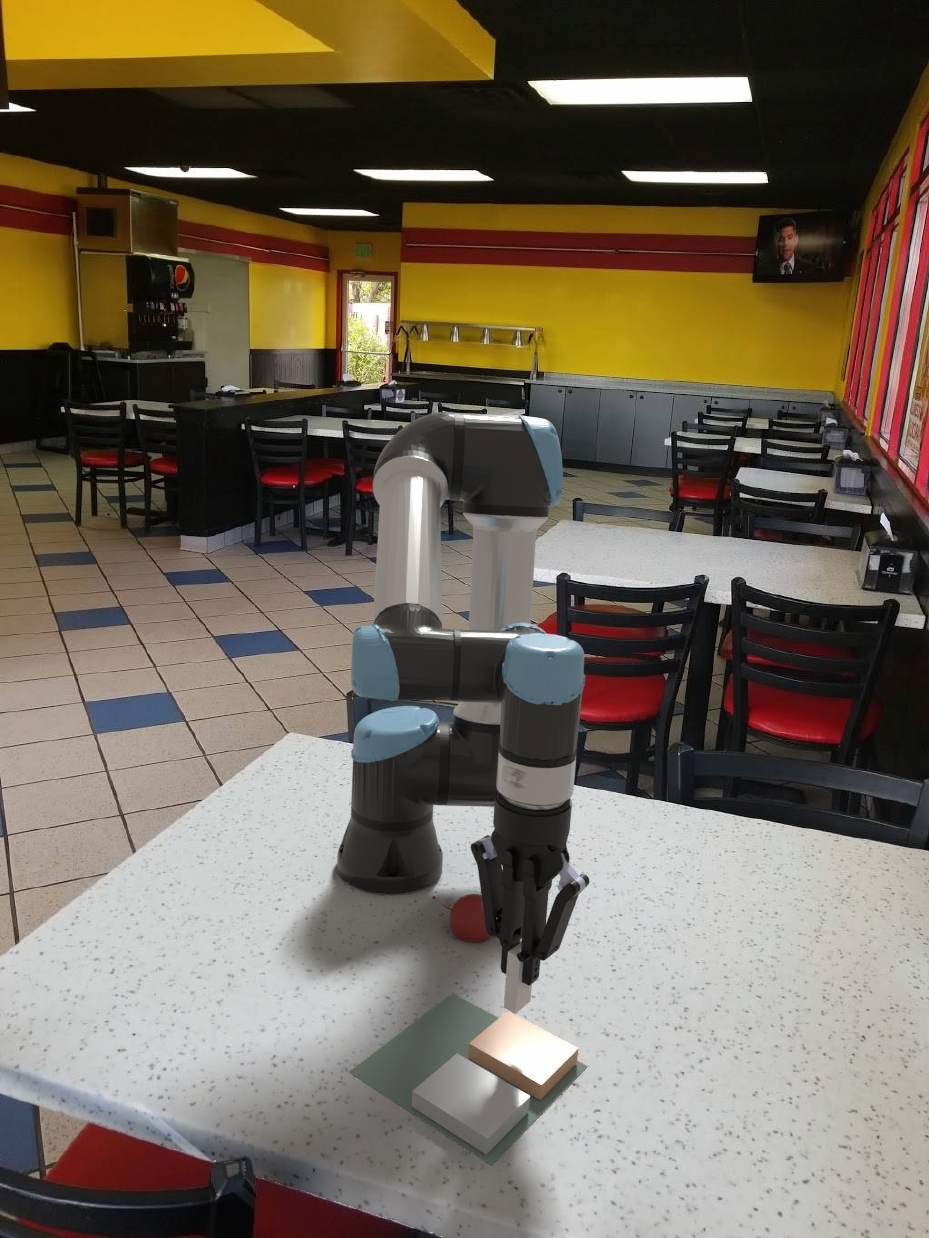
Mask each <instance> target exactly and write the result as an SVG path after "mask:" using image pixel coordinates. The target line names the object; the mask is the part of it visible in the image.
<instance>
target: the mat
mask: <svg viewBox="0 0 929 1238" xmlns="http://www.w3.org/2000/svg"><path fill="white" fill-rule="evenodd" d="M499 1018H500V1017H498V1016H496V1015H494V1014H493V1013H491V1012H489V1011H487V1010H485V1009H483V1008H481V1007H479V1006H478V1005H476V1004H474V1003H472V1002H471V1001H468V1000H466V999H465V998H463V997H462V996H459V995H457V994H455V993H451V994H449V995H448V996H447V997H446V998H444V999H442V1000H441V1001H440V1002H439V1003H438V1004H436V1005H435V1006H434V1007H432V1008H431V1009H429V1010H428V1011H427V1012H425V1013H424V1014H423V1015H422V1016H420V1017H419V1018H418V1019H416V1020H415V1021H414V1022H413V1023H411V1024H410V1025H408V1026H407V1027H406V1028H404V1029H403V1030H402V1031H401V1032H399V1033H398V1034H397V1035H395V1036H394V1037H393V1038H391V1039H390V1040H389V1041H388V1042H386V1043H384V1045H382V1046H380V1047H379V1048H378V1049H376V1051H374V1052H372V1054H370V1055H369V1056H367V1057H366V1058H365V1059H363V1060H362V1061H361V1062H360V1063H358V1064H357V1065H355V1066H354V1067H353V1068H352V1069H351V1070H348V1073H349V1074H351V1075H352V1076H353V1077H356V1078H357V1079H359V1081H361V1082H363V1083H365V1084H366V1085H367V1086H369V1087H371V1088H373V1089H374V1090H375V1091H377V1092H378V1093H380V1094H381V1095H383V1096H384V1097H386V1098H387V1099H389V1100H391V1101H392V1102H394V1103H395V1104H397V1105H398V1106H399V1107H401V1108H403V1109H404V1110H406V1111H408V1113H411V1114H412V1115H414V1116H415V1117H416V1118H418V1119H420V1120H421V1121H422V1122H424V1123H426V1124H427V1125H429V1126H430V1127H432V1128H433V1129H435V1130H436V1131H437V1132H439V1133H441V1134H443V1135H444V1136H446V1137H447V1138H449V1139H450V1140H452V1141H453V1142H454V1143H457V1144H458V1145H459V1146H461V1147H462V1148H464V1149H466V1151H468V1152H469V1153H471V1154H472V1155H474V1156H476V1157H477V1158H479V1159H481V1160H482V1161H484V1162H485V1163H487V1164H488V1165H490V1166H491V1167H493V1165H494V1164H495V1163H497V1161H498V1160H499V1159H500V1158H501V1157H502V1156H503V1155H504V1154H505V1153H506V1152H508V1150H509V1149H510V1148H511V1147H512V1146H513V1145H514V1144H515V1142H516V1141H518V1140H519V1138H520V1137H522V1135H523V1134H524V1133H526V1131H527V1130H528V1129H529V1128H530V1127H531V1126H532V1125H533V1124H534V1123H535V1122H536V1121H537V1120H538V1119H539V1118H540V1117H541V1116H542V1115H543V1113H544V1112H546V1110H547V1109H549V1108H550V1106H551V1105H552V1104H553V1103H554V1102H555V1101H556V1100H557V1099H558V1098H559V1097H560V1096H561V1095H562V1094H563V1093H564V1092H565V1091H566V1090H567V1089H568V1088H569V1087H570V1085H571V1084H572V1083H573V1082H574V1081H576V1080H577V1078H578V1077H579V1076H580V1075H581V1074H582V1073H583V1072H584V1071H585V1070H586V1069H587V1068H589V1067H588V1065H587V1064H584V1063H583V1062H581V1061H579V1060H577V1063H576V1064H575V1066H574V1067H573V1068H572V1069H571V1070H570V1071H569V1072H568V1073H567V1074H566V1075H565V1076H564V1077H563V1078H562V1079H561V1080H560V1081H559V1082H558V1083H557V1084H556V1085H555V1086H554V1087H553V1088H552V1089H551V1090H550V1091H549V1092H548V1093H547V1094H546V1095H545V1096H544V1097H543V1098H542V1099H541V1100H539V1099H537V1098H536V1097H534V1096H532V1095H530V1094H529V1093H527V1092H525V1091H524V1090H522V1089H520V1088H518V1087H517V1086H515V1085H513V1084H512V1083H510V1082H508V1081H506V1080H505V1079H503V1078H501V1077H500V1076H498V1075H496V1074H495V1073H493V1072H491V1071H489V1070H488V1069H486V1068H484V1067H483V1066H481V1065H479V1064H477V1063H476V1062H474V1061H472V1060H471V1059H469V1058H468V1051H469V1043H470V1042H471V1041H472V1040H474V1039H475V1038H476V1037H477V1036H478V1035H479V1034H481V1033H482V1032H483V1031H484V1030H485V1029H487V1028H488V1027H489V1026H490V1025H491V1024H493V1023H494V1022H495V1021H496V1020H497V1019H499ZM457 1053H458V1054H459V1055H461V1056H463V1057H464V1058H466V1059H468V1060H470V1061H471V1062H473V1063H475V1064H476V1065H478V1066H480V1067H481V1068H483V1069H485V1070H487V1071H488V1072H490V1073H492V1074H493V1075H495V1076H497V1077H498V1078H500V1079H502V1080H504V1081H505V1082H507V1083H509V1084H510V1085H512V1086H514V1087H516V1088H517V1089H519V1090H521V1091H522V1092H524V1093H526V1094H527V1095H529V1096H530V1105H529V1112H528V1113H527V1114H526V1115H525V1116H524V1117H523V1118H522V1119H521V1120H520V1121H519V1122H518V1123H517V1124H516V1125H515V1126H514V1127H513V1128H512V1129H511V1130H510V1131H509V1132H508V1133H507V1134H506V1135H505V1136H504V1137H503V1138H502V1139H501V1140H500V1141H499V1142H498V1143H497V1144H496V1146H495V1147H494V1148H493V1149H492V1150H491V1151H490V1152H489V1153H488V1154H487V1155H486V1154H484V1153H482V1152H481V1151H479V1150H478V1149H476V1148H475V1147H473V1146H472V1145H470V1144H469V1143H467V1142H466V1141H464V1140H462V1139H461V1138H459V1137H458V1136H456V1135H455V1134H453V1133H452V1132H450V1131H449V1130H447V1129H446V1128H444V1127H442V1126H441V1125H439V1124H438V1123H436V1122H435V1121H433V1120H432V1119H430V1118H429V1117H427V1116H426V1115H424V1114H423V1113H421V1112H419V1111H418V1110H416V1109H415V1108H413V1107H412V1091H413V1090H414V1089H415V1088H416V1087H418V1086H419V1085H420V1084H421V1083H422V1082H424V1081H425V1080H426V1079H427V1078H428V1077H430V1076H431V1075H432V1074H433V1073H434V1072H435V1071H437V1070H438V1069H439V1068H440V1067H441V1066H443V1065H444V1064H445V1063H446V1062H447V1061H449V1060H450V1059H451V1058H452V1057H453V1056H455V1055H456V1054H457Z"/></svg>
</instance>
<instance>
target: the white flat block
mask: <svg viewBox="0 0 929 1238" xmlns="http://www.w3.org/2000/svg"><path fill="white" fill-rule="evenodd" d="M529 1105H530V1096H529V1095H527V1094H526V1093H524V1092H522V1091H521V1090H519V1089H517V1088H516V1087H514V1086H512V1085H510V1084H509V1083H507V1082H505V1081H504V1080H502V1079H500V1078H498V1077H497V1076H495V1075H493V1074H492V1073H490V1072H488V1071H487V1070H485V1069H483V1068H481V1067H480V1066H478V1065H476V1064H475V1063H473V1062H471V1061H470V1060H468V1059H466V1058H464V1057H463V1056H461V1055H459V1054H458V1053H457V1054H456V1055H455V1056H453V1057H452V1058H451V1059H450V1060H449V1061H447V1062H446V1063H445V1064H444V1065H443V1066H441V1067H440V1068H439V1069H438V1070H437V1071H435V1072H434V1073H433V1074H432V1075H431V1076H430V1077H428V1078H427V1079H426V1080H425V1081H424V1082H422V1083H421V1084H420V1085H419V1086H418V1087H416V1088H415V1089H414V1090H413V1091H412V1107H413V1108H415V1109H416V1110H418V1111H419V1112H421V1113H423V1114H424V1115H426V1116H427V1117H429V1118H430V1119H432V1120H433V1121H435V1122H436V1123H438V1124H439V1125H441V1126H442V1127H444V1128H446V1129H447V1130H449V1131H450V1132H452V1133H453V1134H455V1135H456V1136H458V1137H459V1138H461V1139H462V1140H464V1141H466V1142H467V1143H469V1144H470V1145H472V1146H473V1147H475V1148H476V1149H478V1150H479V1151H481V1152H482V1153H484V1154H486V1155H487V1154H488V1153H489V1152H490V1151H491V1150H492V1149H493V1148H494V1147H495V1146H496V1144H497V1143H498V1142H499V1141H500V1140H501V1139H502V1138H503V1137H504V1136H505V1135H506V1134H507V1133H508V1132H509V1131H510V1130H511V1129H512V1128H513V1127H514V1126H515V1125H516V1124H517V1123H518V1122H519V1121H520V1120H521V1119H522V1118H523V1117H524V1116H525V1115H526V1114H527V1113H528V1112H529Z"/></svg>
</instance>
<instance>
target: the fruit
mask: <svg viewBox="0 0 929 1238" xmlns="http://www.w3.org/2000/svg"><path fill="white" fill-rule="evenodd" d="M431 898H432V900H435V899H437V900H438V901H439V902H440V903H441V905H443V906H444V908H446V909H448V910H449V911H450V914H449V925H450V928H451V931H452V933H453V934H454V936H455V937H457V939H459V940H461V941H463V942H467V943H474V944H475V943H483V942H486V941H487V940H489V939H491V937H492V936H490V935H489V934H488V933H487V931H486V925H485V918H484V910H483V903H482V895H481V894H478V893H477V894H476V893H469V894H466V895H464V896H461V897H459V898H458V899H457V901H455V903H454V904H453V905H452V908H451V907H449V906H447V905H446V904H444V903H443V902H442V901H441V900H440V899H438V898H436V896H435V895H433V896H431Z"/></svg>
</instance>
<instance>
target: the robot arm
mask: <svg viewBox="0 0 929 1238" xmlns="http://www.w3.org/2000/svg"><path fill="white" fill-rule="evenodd" d="M562 458H563V457H562V449H561V444H560V439H559V435H558V432H557V430H556V427H555V426H554V424H553V423H552V422H551V421H549V420H548V419H545V418H541V417H535V416H534V417H533V416H526V415H521V414H518V415H514V414H513V415H508V414H490V413H489V414H488V413H487V414H486V413H484V414H483V413H461V412H452V411H442V412H441V411H440V412H434V413H429V414H427V415H424V416H421V417H418V418H417V419H415V420H413V421H412V422H409V423H408V424H406V425H405V426H404V427H403V428H401V429H400V430H399V431H398V432H396V433H395V434H394V435H393V437H391V438H390V440H389V441H388V442H387V443H386V445H385V446H384V447H383V449H382V451H381V453H380V454H379V455H378V459H377V461H376V463H375V467H374V471H373V479H372V490H373V491H372V492H373V496H374V499H375V501H376V502H377V504H378V505H379V511H378V531H377V545H376V546H377V549H376V562H375V563H376V564H375V565H376V567H375V581H374V583H375V584H374V597H373V599H374V600H373V602H374V603H373V613H372V615H373V616H372V624H370V625H361V626H358V627H357V628H356V629H355V630H354V632H353V637H352V647H351V669H350V670H351V671H350V672H351V675H350V676H351V677H350V679H351V681H350V682H351V684H350V685H351V689H352V691H353V692H354V694H356V696H359V697H360V698H361V697H362V698H366V699H367V698H369V699H375V700H376V699H378V700H387V701H392V702H395V701H440V702H441V701H442V702H443V701H447V702H448V701H449V702H459V704H457V705H456V706H455V707H454V708H453V714H452V715H453V716H452V721H440V719H439V717H438V714H436V712H435V711H434V710H432V709H430V708H427V707H423V708H421V706H417V705H416V706H415V705H403V706H402V705H401V706H400V705H399V706H393V707H387V708H382V709H380V710H379V709H378V710H377V711H374V712H373V713H370V714H368V715H366V716H365V717H362V719H361V720H360V721H359V722H358V723H357V725H356V726H355V728H354V733H353V742H352V743H353V744H352V748H351V752H350V756H351V759H352V776H351V802H350V804H351V805H350V806H351V808H350V818H349V821H348V824H347V826H346V828H345V832H344V834H343V837H342V840H341V843H340V845H339V847H338V849H337V850H338V851H337V857H336V858H337V859H336V860H337V863H336V864H337V865H336V870H337V873H338V876H340V878H341V879H342V880H343V881H344V882H345V883H346V884H347V885H350V886H352V887H354V888H355V889H358V890H361V891H364V892H368V893H373V894H377V895H379V894H380V895H403V894H404V895H405V894H411V893H414V892H418V891H422V890H424V889H426V888H428V887H430V886H432V885H433V884H434V883H435V882H437V881H438V880H439V878H440V877H441V875H442V873H443V859H444V855H443V849H442V847H441V845H440V843H439V840H438V836H437V831H436V827H435V824H434V819H433V817H434V806H444V807H446V806H447V807H448V806H449V807H486V808H488V807H489V808H493V819H492V822H493V828H494V829H493V831H492V833H491V834H490V835H489V834H487V835H485V836H483V837H481V838H479V839H478V840H476V841H475V842H473V843H471V844H470V850H471V854H472V855H473V858H474V860H475V863H476V866H477V871H478V873H477V874H478V879H479V887H480V895H482V903H483V910H484V918H485V925H486V931H487V933H488V934H489V935H490V936H491V937H496V938H497V939H498V940H499V944H500V946H501V956H500V957H501V959H500V970H501V973H503V974H505V983H504V984H505V985H504V998H503V999H504V1000H503V1009H506V1010H507V1011H509V1012H511V1013H513V1014H515V1015H517V1013H518V1012H519V1011H521V1010H522V1009H523V1008H524V1007H526V1006H527V1005H528V1004H530V1002H531V997H532V986H533V983H535V982H536V981H537V980H538V979H539V977H540V970H541V969H540V968H541V961H546V960H547V959H548V958H550V957H551V956H552V955H554V953H556V952H557V951H558V950H559V949H560V948H561V946H562V942H563V939H564V936H565V934H566V931H567V929H568V926H569V923H570V920H571V917H572V915H573V912H574V910H575V906H576V903H577V901H578V898H579V894H580V893H582V892H583V891H584V890H585V889H586V888H587V887H588V886H589V884H590V881H591V880H590V877H589V876H588V875H587V874H585V873H581V874H578V872H577V871H576V870H575V869H574V868H573V867H572V866H571V865H570V859H571V858H570V853H569V850H568V847H567V846H568V845H567V842H568V839H569V838H568V837H569V835H570V830H571V821H572V820H571V819H572V810H573V809H572V807H573V800H572V796H573V795H574V789H575V776H576V763H577V748H578V737H579V727H580V718H581V710H582V709H581V706H582V699H583V697H582V696H583V690H584V687H585V684H586V675H585V671H584V669H585V651H584V649H583V647H582V646H581V645H580V644H579V642H577V641H575V640H573V639H570V638H569V637H566V636H563V635H558V634H553V633H552V634H551V633H547V632H546V631H545V630H544V629H542V628H541V627H539V626H537V625H535V624H532V623H531V622H532V611H533V610H532V609H533V607H532V606H533V590H534V575H535V574H534V571H535V557H536V555H535V553H536V542H537V541H536V540H537V539H536V538H537V537H536V536H537V532H538V529H539V528H541V526H542V525H544V523H546V522H547V521H548V520H549V508H550V507H552V508H553V507H555V506H558V505H559V504H560V503H561V500H562V498H563V485H564V471H563V459H562ZM447 500H449V501H455V502H456V501H458V502H463V509H462V510H463V511H462V516H463V517H465V519H466V521H467V522H468V523H469V524H470V525H471V526H472V531H473V532H472V536H473V537H472V552H471V553H472V554H471V556H472V557H471V572H470V591H469V592H470V593H469V613H468V629H459V628H458V629H456V628H455V629H453V628H443V611H442V610H443V609H442V608H443V607H442V603H443V602H442V599H443V598H442V548H441V546H442V542H441V541H442V539H441V537H442V535H441V530H442V529H441V528H442V527H441V526H442V525H441V507H442V506H443V504H444V503H445V502H446V501H447ZM558 875H559V881H558V885H557V890H558V893H557V895H556V896H555V899H554V901H553V902H552V907H551V909H550V913H549V915H548V906H549V905H548V903H549V892H550V890H551V888H552V885H553V884H552V883H553V880H554V879H555V878H556V877H557V876H558ZM547 917H548V918H547Z"/></svg>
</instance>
